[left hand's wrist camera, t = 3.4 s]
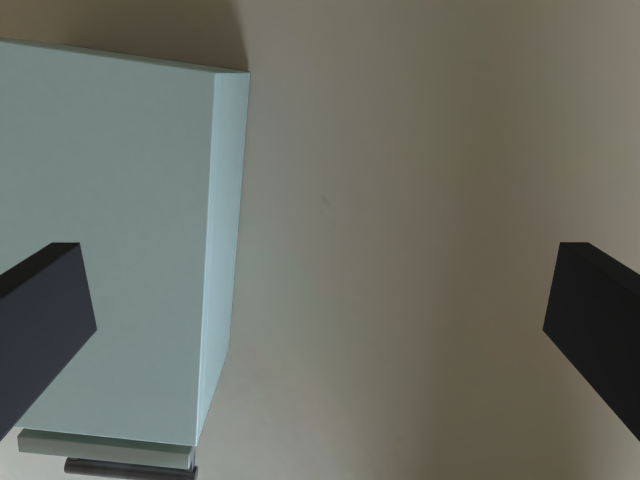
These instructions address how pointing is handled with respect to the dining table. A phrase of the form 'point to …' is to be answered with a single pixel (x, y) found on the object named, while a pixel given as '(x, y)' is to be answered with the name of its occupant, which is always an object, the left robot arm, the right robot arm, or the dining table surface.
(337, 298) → the dining table surface
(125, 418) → the cabinet
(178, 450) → the drawer
